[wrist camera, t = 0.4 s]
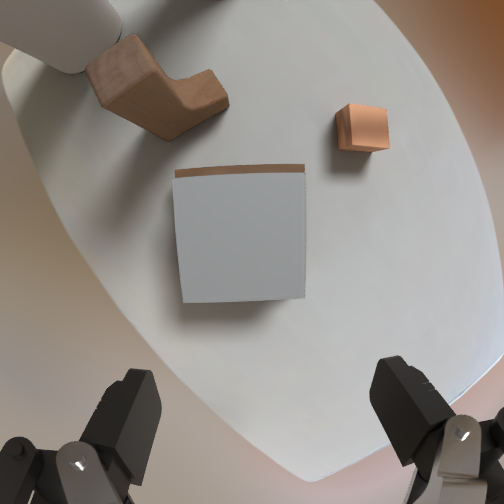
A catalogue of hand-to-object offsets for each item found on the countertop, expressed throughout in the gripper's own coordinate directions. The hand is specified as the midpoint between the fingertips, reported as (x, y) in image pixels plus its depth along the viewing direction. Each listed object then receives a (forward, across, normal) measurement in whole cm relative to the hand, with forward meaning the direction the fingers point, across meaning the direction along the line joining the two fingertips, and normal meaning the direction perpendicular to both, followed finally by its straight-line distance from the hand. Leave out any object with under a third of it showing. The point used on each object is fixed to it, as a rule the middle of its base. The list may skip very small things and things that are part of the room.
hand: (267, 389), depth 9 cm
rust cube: (+27, -14, -14) cm, 34 cm away
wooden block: (+28, +7, -16) cm, 33 cm away
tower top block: (+22, +1, -1) cm, 23 cm away
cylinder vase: (+28, +24, -32) cm, 49 cm away
